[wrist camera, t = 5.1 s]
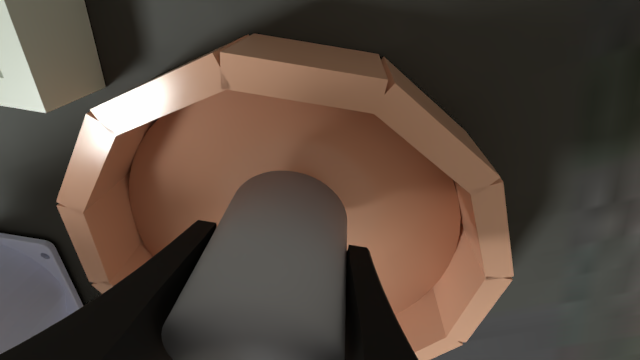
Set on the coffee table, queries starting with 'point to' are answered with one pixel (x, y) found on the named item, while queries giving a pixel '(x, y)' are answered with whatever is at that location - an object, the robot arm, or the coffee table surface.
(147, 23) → the coffee table surface
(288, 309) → the slate stone
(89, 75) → the parts tray
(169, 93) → the bowl
